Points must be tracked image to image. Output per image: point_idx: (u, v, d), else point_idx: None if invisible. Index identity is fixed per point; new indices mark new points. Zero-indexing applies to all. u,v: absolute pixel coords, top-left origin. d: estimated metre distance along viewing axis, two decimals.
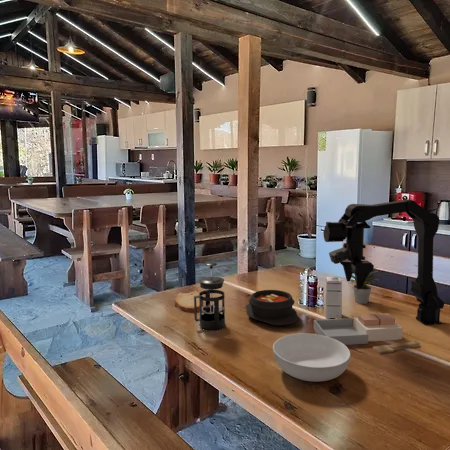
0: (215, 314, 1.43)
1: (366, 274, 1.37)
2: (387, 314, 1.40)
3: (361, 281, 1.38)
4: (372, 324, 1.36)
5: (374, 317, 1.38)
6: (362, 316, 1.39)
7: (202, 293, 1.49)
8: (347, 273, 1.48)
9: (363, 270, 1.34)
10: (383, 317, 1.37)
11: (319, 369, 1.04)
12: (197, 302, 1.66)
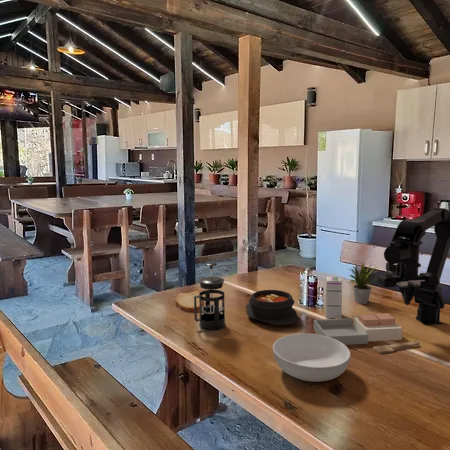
0: (215, 314, 1.43)
1: (404, 290, 1.36)
2: (387, 314, 1.40)
3: (404, 296, 1.37)
4: (372, 324, 1.36)
5: (374, 317, 1.38)
6: (362, 316, 1.39)
7: (202, 293, 1.49)
8: None
9: (380, 282, 1.37)
10: (383, 317, 1.37)
11: (319, 369, 1.04)
12: (198, 302, 1.66)
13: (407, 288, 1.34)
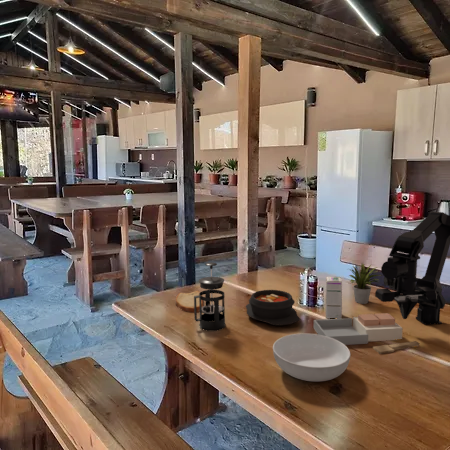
0: (215, 314, 1.43)
1: (402, 304, 1.36)
2: (387, 314, 1.40)
3: (401, 310, 1.38)
4: (372, 324, 1.36)
5: (374, 317, 1.38)
6: (362, 316, 1.39)
7: (202, 293, 1.49)
8: None
9: (377, 296, 1.38)
10: (383, 317, 1.37)
11: (319, 369, 1.04)
12: (198, 302, 1.66)
13: (405, 303, 1.35)
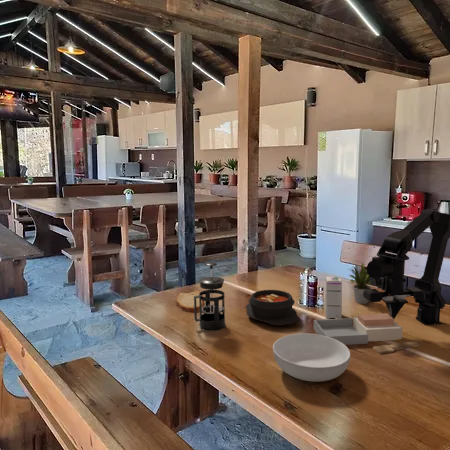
0: (215, 314, 1.43)
1: (390, 305, 1.36)
2: (386, 314, 1.40)
3: (390, 311, 1.38)
4: (372, 324, 1.36)
5: (374, 317, 1.38)
6: (362, 316, 1.39)
7: (202, 293, 1.49)
8: None
9: (365, 297, 1.37)
10: (381, 317, 1.37)
11: (319, 369, 1.04)
12: (198, 302, 1.66)
13: (393, 303, 1.35)
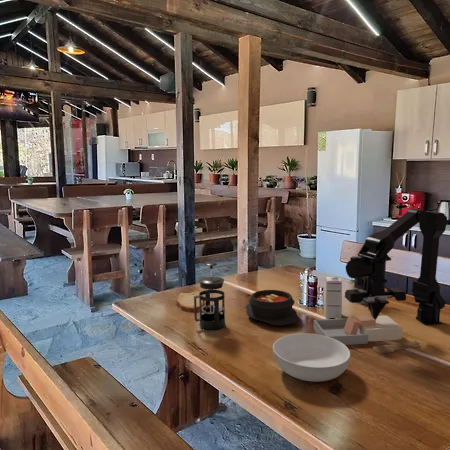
0: (215, 314, 1.43)
1: (371, 305, 1.36)
2: (368, 315, 1.40)
3: (371, 311, 1.37)
4: (356, 329, 1.35)
5: (351, 321, 1.37)
6: (346, 329, 1.38)
7: (202, 293, 1.49)
8: None
9: (347, 297, 1.37)
10: (363, 318, 1.37)
11: (319, 369, 1.04)
12: (198, 302, 1.66)
13: (374, 304, 1.34)
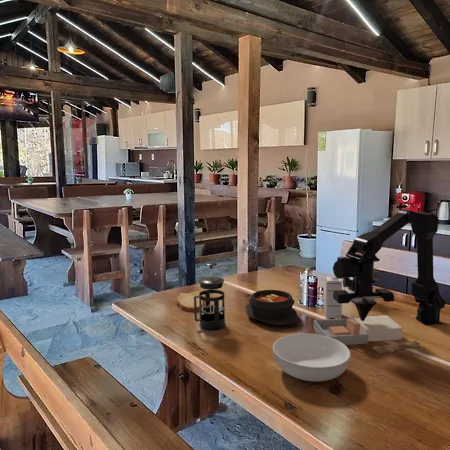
0: (215, 314, 1.43)
1: (359, 306, 1.35)
2: (348, 320, 1.37)
3: (359, 312, 1.37)
4: (341, 333, 1.35)
5: None
6: None
7: (202, 293, 1.49)
8: None
9: (334, 298, 1.37)
10: (351, 332, 1.35)
11: (319, 369, 1.04)
12: None
13: (361, 304, 1.34)
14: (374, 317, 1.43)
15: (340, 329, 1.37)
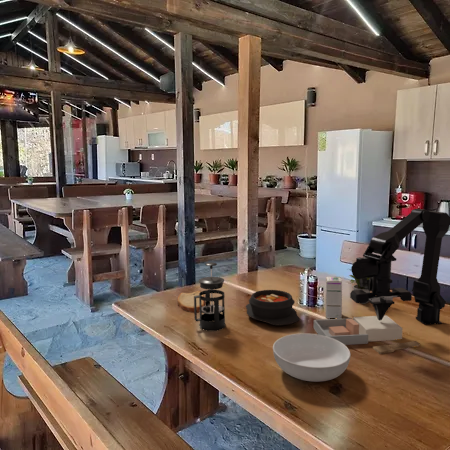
0: (215, 314, 1.43)
1: (376, 306, 1.36)
2: (347, 321, 1.37)
3: (376, 312, 1.38)
4: (341, 333, 1.35)
5: None
6: None
7: (202, 293, 1.49)
8: None
9: (352, 298, 1.37)
10: (350, 332, 1.35)
11: (319, 369, 1.04)
12: None
13: (379, 304, 1.35)
14: (374, 317, 1.43)
15: (340, 329, 1.37)
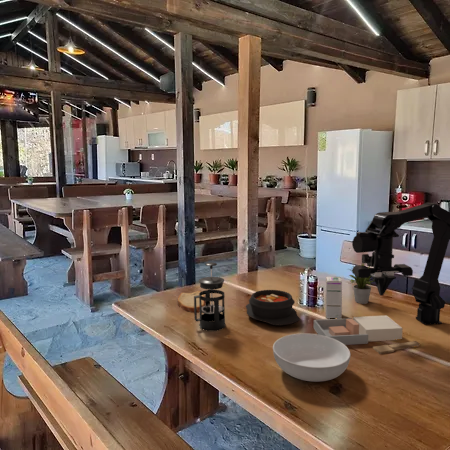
0: (215, 314, 1.43)
1: (378, 281, 1.39)
2: (347, 321, 1.37)
3: (378, 287, 1.40)
4: (341, 333, 1.35)
5: None
6: None
7: (202, 293, 1.49)
8: None
9: (354, 273, 1.40)
10: (350, 332, 1.35)
11: (319, 369, 1.04)
12: None
13: (381, 279, 1.37)
14: (374, 317, 1.43)
15: (340, 329, 1.37)
